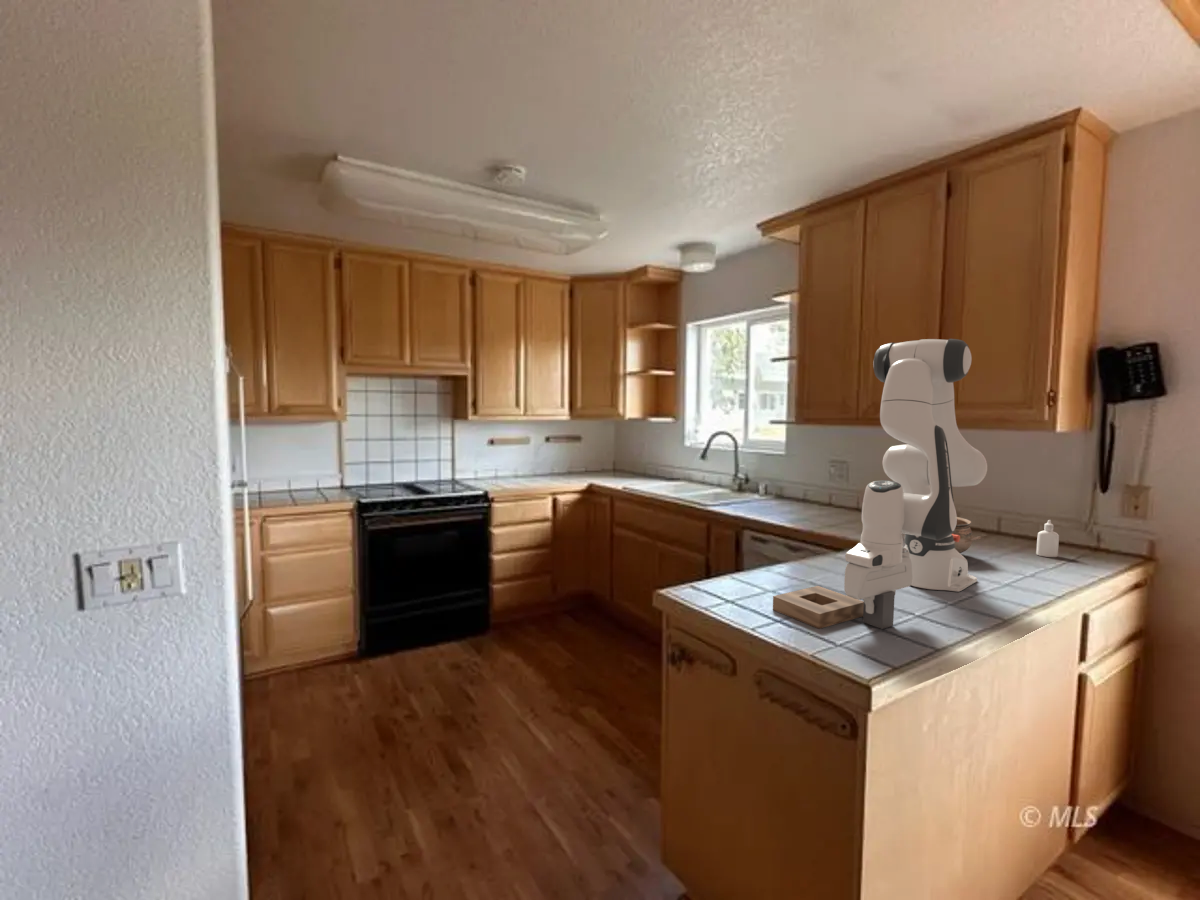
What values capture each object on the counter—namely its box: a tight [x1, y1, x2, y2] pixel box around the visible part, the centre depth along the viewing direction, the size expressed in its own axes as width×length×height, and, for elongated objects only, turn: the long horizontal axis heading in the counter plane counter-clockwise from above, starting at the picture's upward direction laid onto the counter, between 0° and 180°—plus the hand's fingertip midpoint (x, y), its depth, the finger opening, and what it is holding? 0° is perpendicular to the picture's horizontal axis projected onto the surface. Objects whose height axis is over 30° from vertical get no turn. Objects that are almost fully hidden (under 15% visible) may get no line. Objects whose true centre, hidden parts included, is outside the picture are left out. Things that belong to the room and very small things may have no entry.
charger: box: [862, 591, 896, 630], centre depth 140 cm, size 4×5×8 cm
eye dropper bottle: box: [1035, 519, 1060, 558], centre depth 199 cm, size 4×6×12 cm
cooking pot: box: [952, 516, 982, 554], centre depth 199 cm, size 25×19×12 cm
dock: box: [772, 585, 864, 630], centre depth 147 cm, size 16×14×4 cm
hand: (878, 610), depth 140 cm, fingers closed on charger, 4 cm apart
